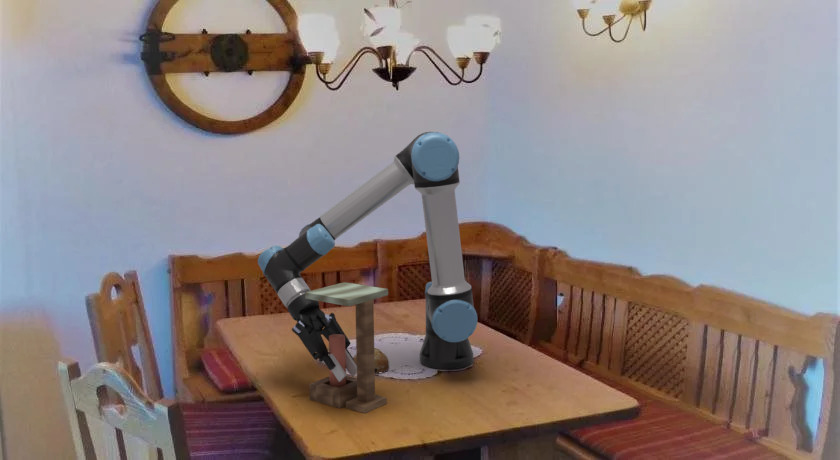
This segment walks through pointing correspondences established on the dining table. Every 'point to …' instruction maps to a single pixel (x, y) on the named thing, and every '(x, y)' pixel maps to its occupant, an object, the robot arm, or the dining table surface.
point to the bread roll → (378, 361)
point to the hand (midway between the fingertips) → (349, 375)
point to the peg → (337, 356)
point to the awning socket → (362, 388)
